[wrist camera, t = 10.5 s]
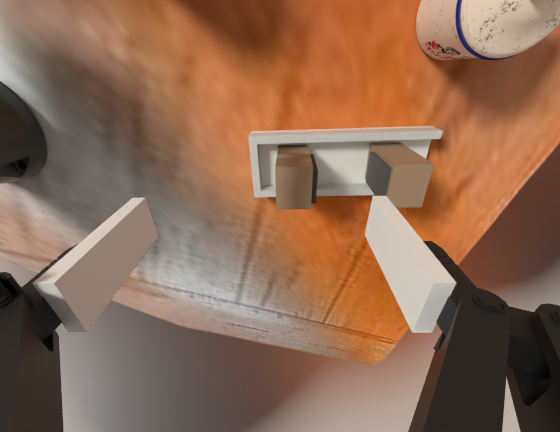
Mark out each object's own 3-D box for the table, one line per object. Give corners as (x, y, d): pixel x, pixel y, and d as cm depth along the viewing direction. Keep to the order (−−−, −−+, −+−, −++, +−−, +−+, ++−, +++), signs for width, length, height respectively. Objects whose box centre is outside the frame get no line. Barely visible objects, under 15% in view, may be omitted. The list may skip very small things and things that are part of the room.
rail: (256, 188, 38) (247, 223, 29) (251, 131, 34) (238, 152, 25) (415, 185, 37) (453, 220, 28) (430, 125, 33) (481, 145, 24)
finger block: (278, 179, 36) (276, 209, 28) (278, 145, 34) (275, 167, 26) (310, 179, 36) (316, 209, 28) (312, 145, 33) (318, 167, 26)
